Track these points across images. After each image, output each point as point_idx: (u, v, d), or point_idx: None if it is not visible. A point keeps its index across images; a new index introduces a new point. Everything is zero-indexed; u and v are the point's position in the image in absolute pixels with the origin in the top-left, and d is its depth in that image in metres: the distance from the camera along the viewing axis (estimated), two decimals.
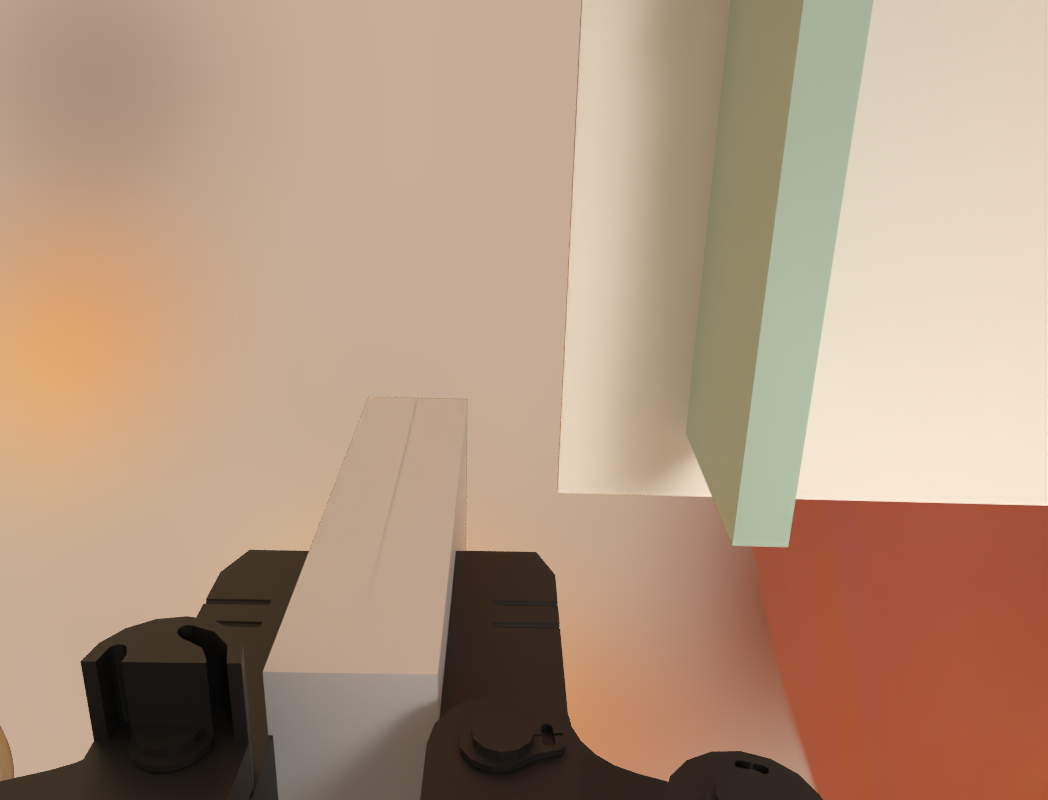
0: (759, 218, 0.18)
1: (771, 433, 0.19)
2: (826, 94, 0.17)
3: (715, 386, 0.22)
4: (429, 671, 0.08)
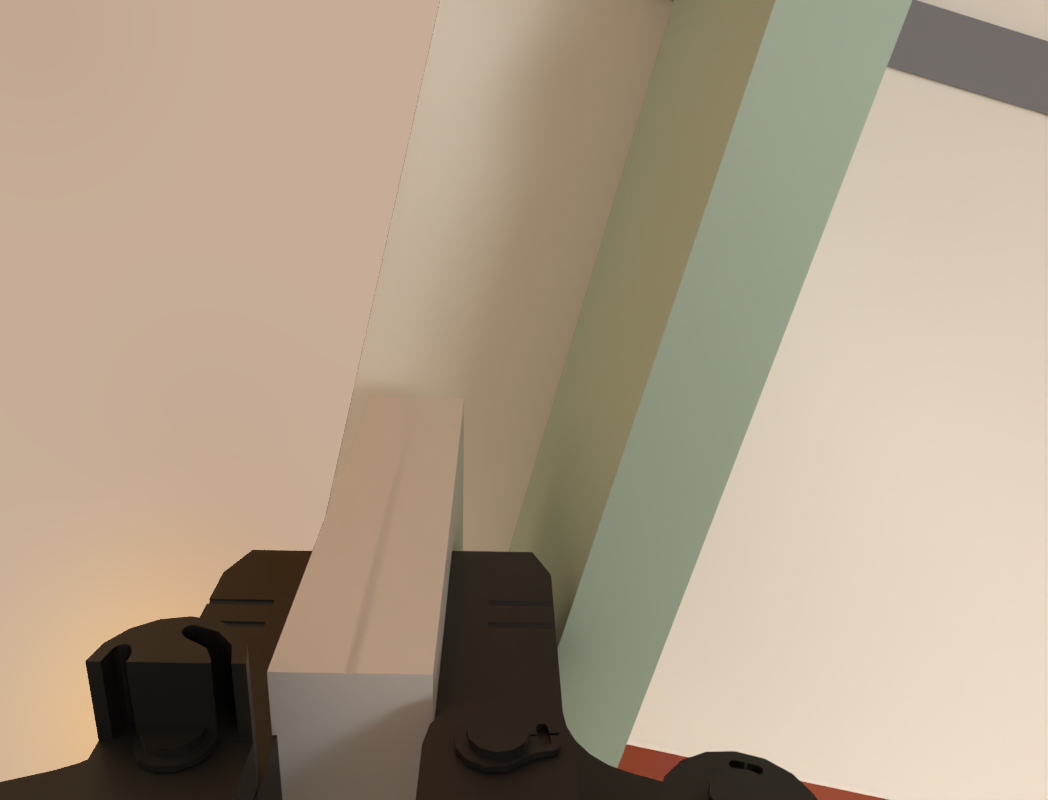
0: (612, 416, 0.11)
1: None
2: (755, 252, 0.09)
3: None
4: (424, 671, 0.08)
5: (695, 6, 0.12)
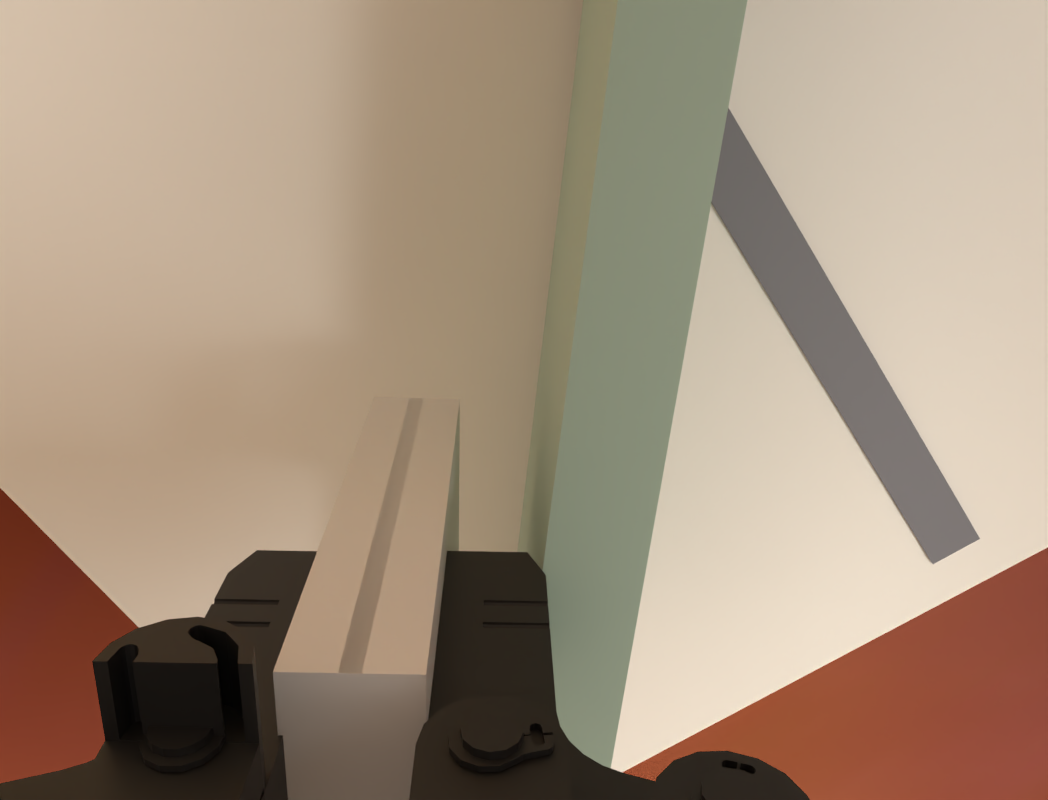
0: (560, 375, 0.11)
1: (563, 719, 0.12)
2: (655, 190, 0.09)
3: None
4: (418, 671, 0.08)
5: None
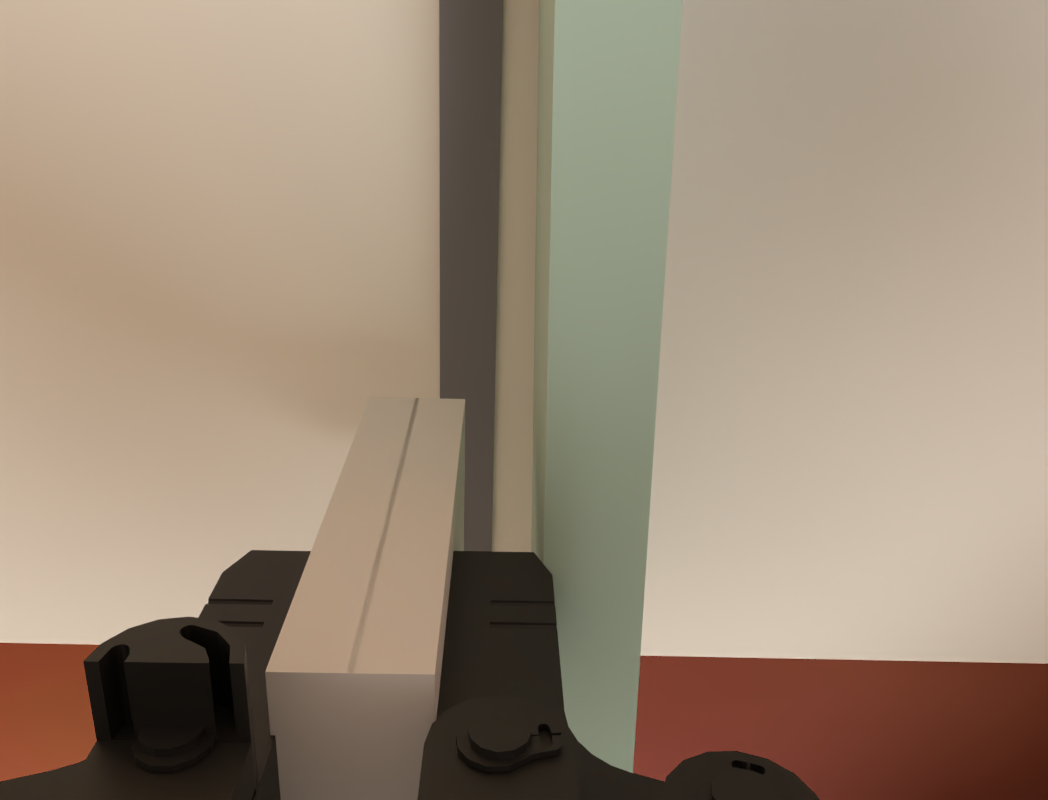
0: (544, 368, 0.11)
1: (580, 712, 0.12)
2: (613, 172, 0.09)
3: None
4: (425, 671, 0.08)
5: None
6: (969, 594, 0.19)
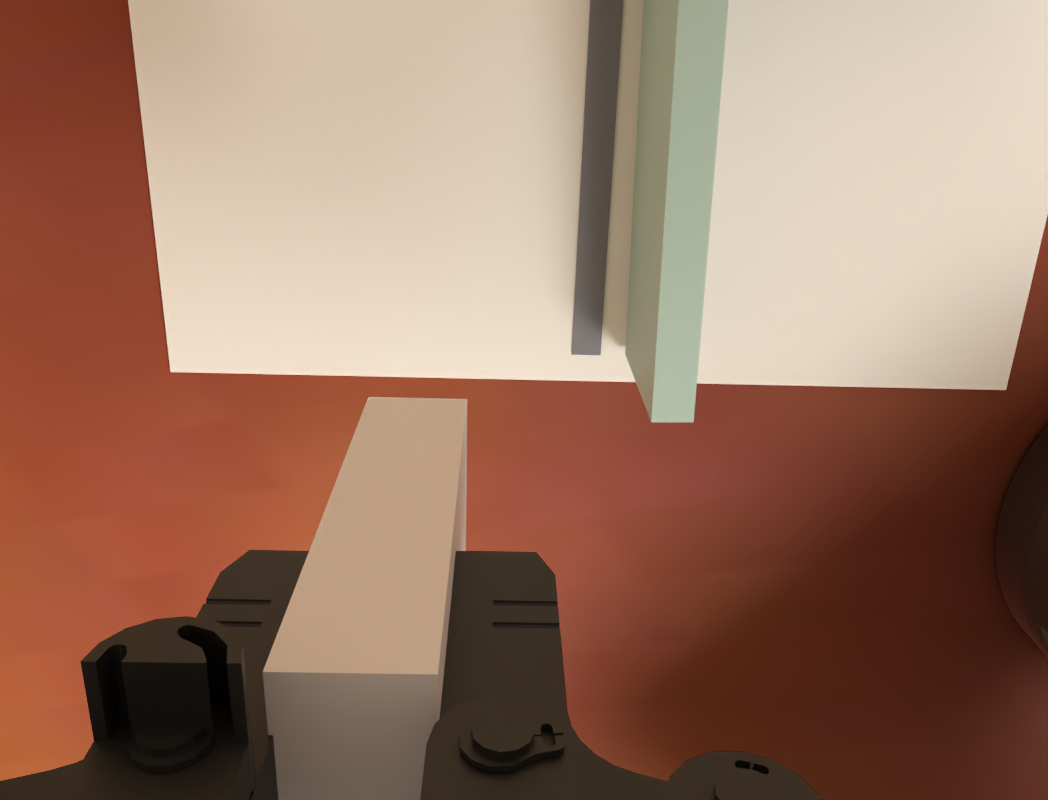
0: (660, 171, 0.25)
1: (675, 332, 0.25)
2: (699, 77, 0.23)
3: (640, 307, 0.28)
4: (429, 672, 0.08)
5: None
6: (874, 344, 0.32)
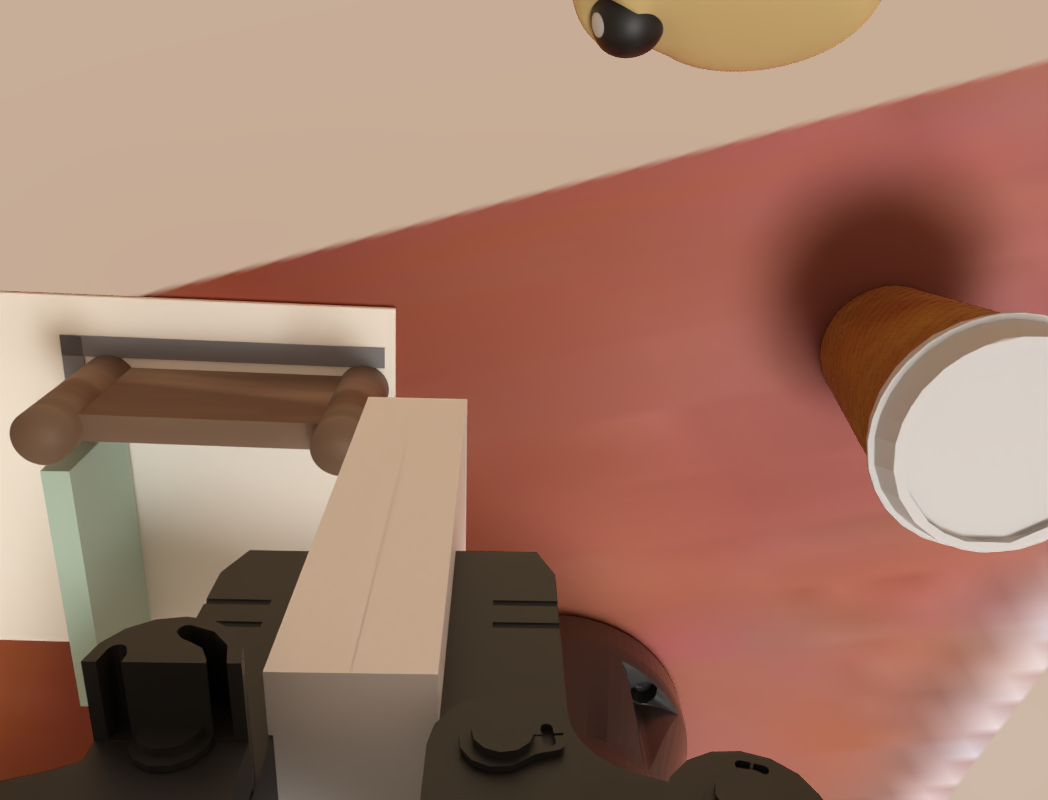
0: None
1: (83, 658, 0.42)
2: (64, 530, 0.40)
3: None
4: (429, 671, 0.08)
5: None
6: None
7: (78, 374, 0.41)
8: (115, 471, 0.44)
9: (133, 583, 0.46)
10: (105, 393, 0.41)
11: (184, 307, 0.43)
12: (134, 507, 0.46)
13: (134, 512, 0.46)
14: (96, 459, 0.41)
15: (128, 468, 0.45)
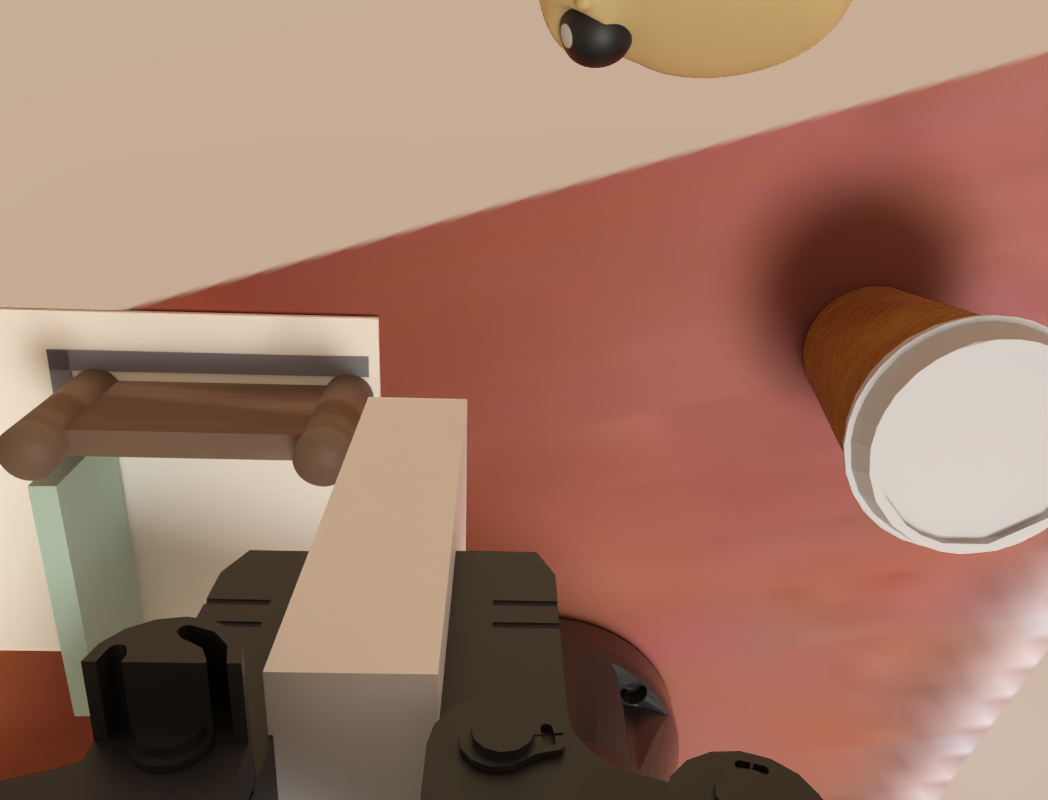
0: None
1: (75, 669, 0.43)
2: (53, 543, 0.40)
3: None
4: (429, 672, 0.08)
5: None
6: None
7: (64, 389, 0.42)
8: (103, 483, 0.44)
9: (126, 593, 0.47)
10: (91, 407, 0.41)
11: (168, 320, 0.43)
12: (125, 518, 0.46)
13: (124, 523, 0.46)
14: (84, 472, 0.42)
15: (117, 480, 0.46)
